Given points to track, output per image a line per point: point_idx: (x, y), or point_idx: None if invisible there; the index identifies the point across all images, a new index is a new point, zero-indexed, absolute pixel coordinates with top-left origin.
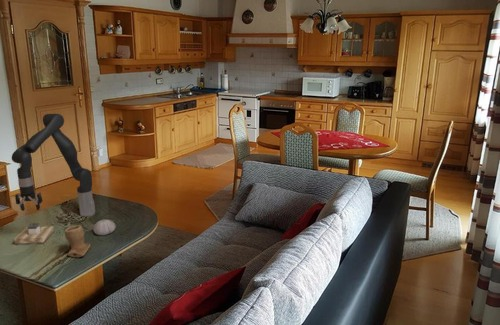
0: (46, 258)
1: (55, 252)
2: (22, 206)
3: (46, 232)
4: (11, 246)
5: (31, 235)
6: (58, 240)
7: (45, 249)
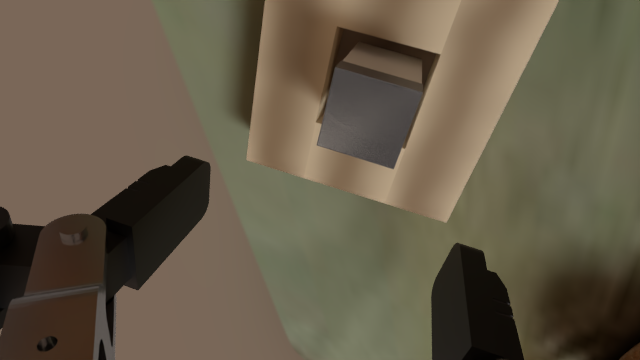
0: None
1: None
2: (157, 264)
3: (482, 134)
4: None
5: None
6: (557, 180)
7: None
